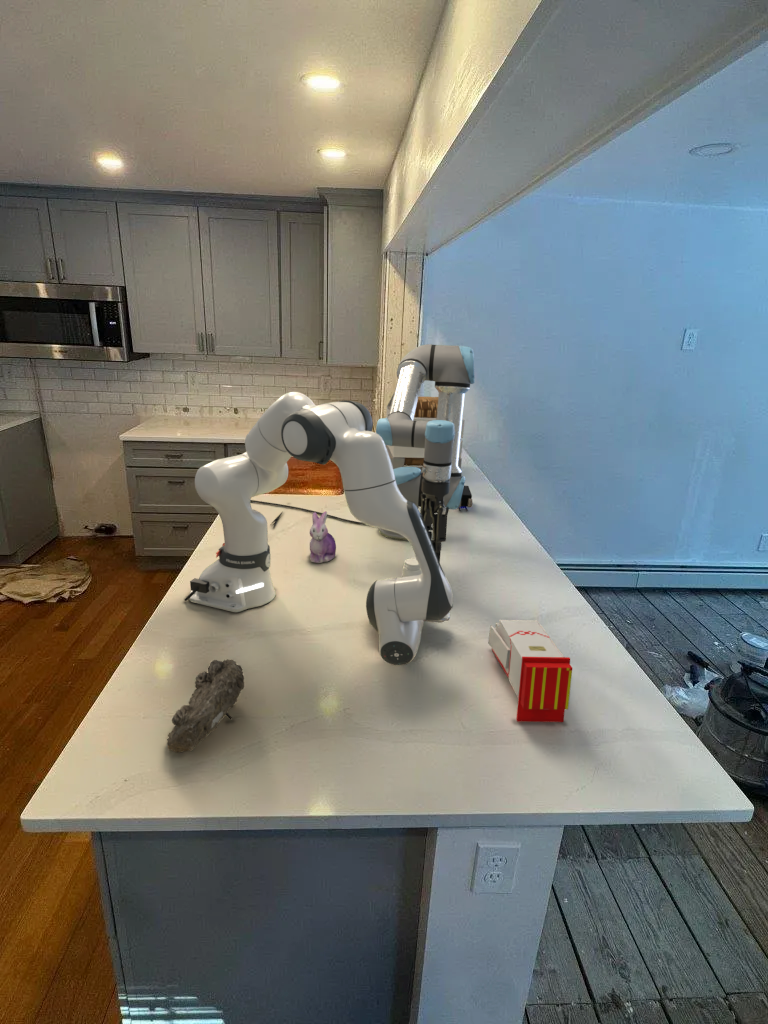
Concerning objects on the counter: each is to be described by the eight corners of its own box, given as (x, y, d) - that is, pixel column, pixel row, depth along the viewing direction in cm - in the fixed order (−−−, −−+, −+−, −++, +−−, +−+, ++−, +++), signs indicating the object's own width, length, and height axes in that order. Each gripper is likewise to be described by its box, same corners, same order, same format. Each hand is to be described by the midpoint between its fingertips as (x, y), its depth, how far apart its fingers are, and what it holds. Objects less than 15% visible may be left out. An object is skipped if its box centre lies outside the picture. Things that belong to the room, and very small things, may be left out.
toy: (535, 605, 135) (581, 664, 106) (530, 657, 138) (574, 728, 108) (484, 604, 135) (517, 662, 105) (480, 656, 137) (511, 727, 108)
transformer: (382, 463, 289) (386, 382, 275) (445, 464, 293) (451, 384, 279) (390, 482, 257) (394, 392, 243) (460, 483, 261) (468, 394, 247)
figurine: (314, 566, 172) (314, 520, 167) (302, 553, 180) (302, 509, 175) (342, 561, 176) (343, 516, 171) (330, 549, 184) (330, 505, 179)
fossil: (192, 660, 117) (244, 628, 112) (224, 691, 120) (276, 661, 115) (142, 746, 98) (202, 712, 93) (182, 779, 101) (242, 748, 96)
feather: (289, 506, 225) (292, 502, 225) (272, 529, 199) (275, 525, 198) (286, 503, 225) (288, 500, 225) (268, 527, 199) (271, 522, 198)
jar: (411, 621, 144) (415, 567, 139) (396, 614, 147) (399, 561, 142) (423, 614, 148) (427, 561, 143) (408, 607, 151) (411, 555, 146)
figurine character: (472, 516, 224) (466, 500, 237) (474, 499, 220) (469, 483, 234) (455, 515, 224) (451, 499, 237) (457, 498, 220) (452, 483, 234)
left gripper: (450, 610, 131) (452, 583, 144) (363, 600, 134) (373, 574, 147) (448, 633, 133) (450, 605, 146) (362, 623, 136) (372, 596, 149)
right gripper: (410, 470, 160) (405, 546, 167) (437, 489, 143) (430, 572, 151) (435, 469, 162) (429, 544, 170) (464, 488, 145) (456, 570, 153)
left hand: (411, 589), depth 146 cm, fingers closed on jar, 5 cm apart
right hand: (430, 557), depth 160 cm, fingers closed on lid, 6 cm apart
